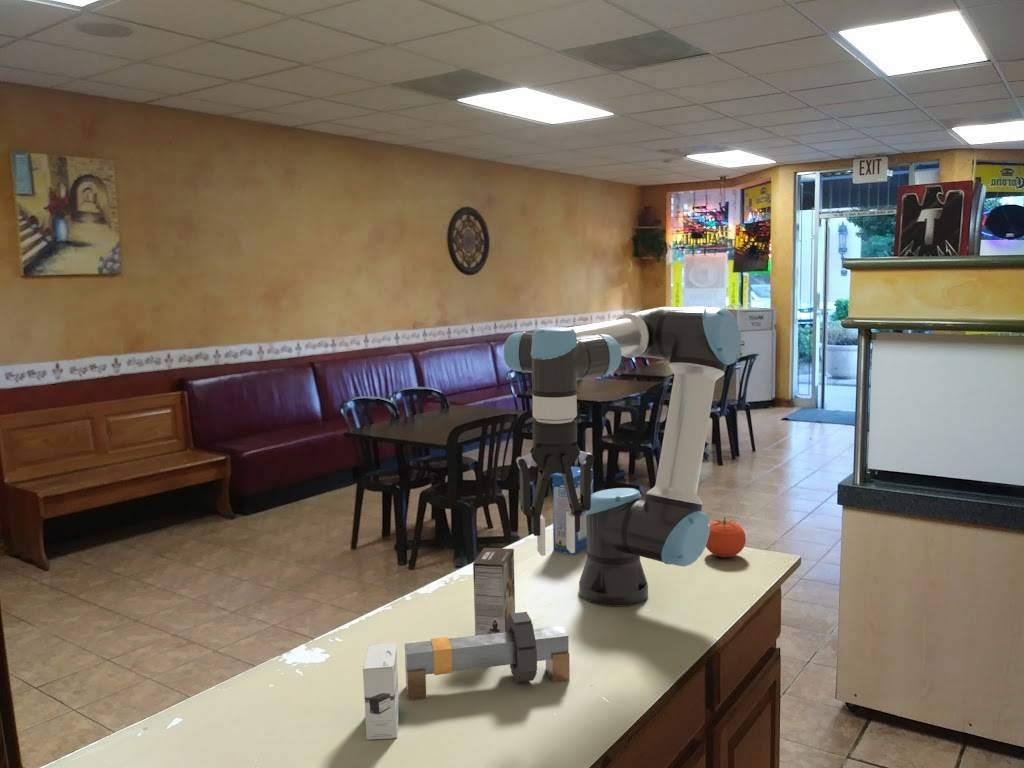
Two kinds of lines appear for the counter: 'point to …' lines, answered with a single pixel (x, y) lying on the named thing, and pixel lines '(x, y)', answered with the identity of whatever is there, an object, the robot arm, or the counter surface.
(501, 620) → the coffee box
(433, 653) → the pipe
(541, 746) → the counter surface
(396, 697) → the ink box
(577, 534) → the milk carton
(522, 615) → the gray octagonal collar
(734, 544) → the tomato
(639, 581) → the robot arm
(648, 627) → the counter surface
